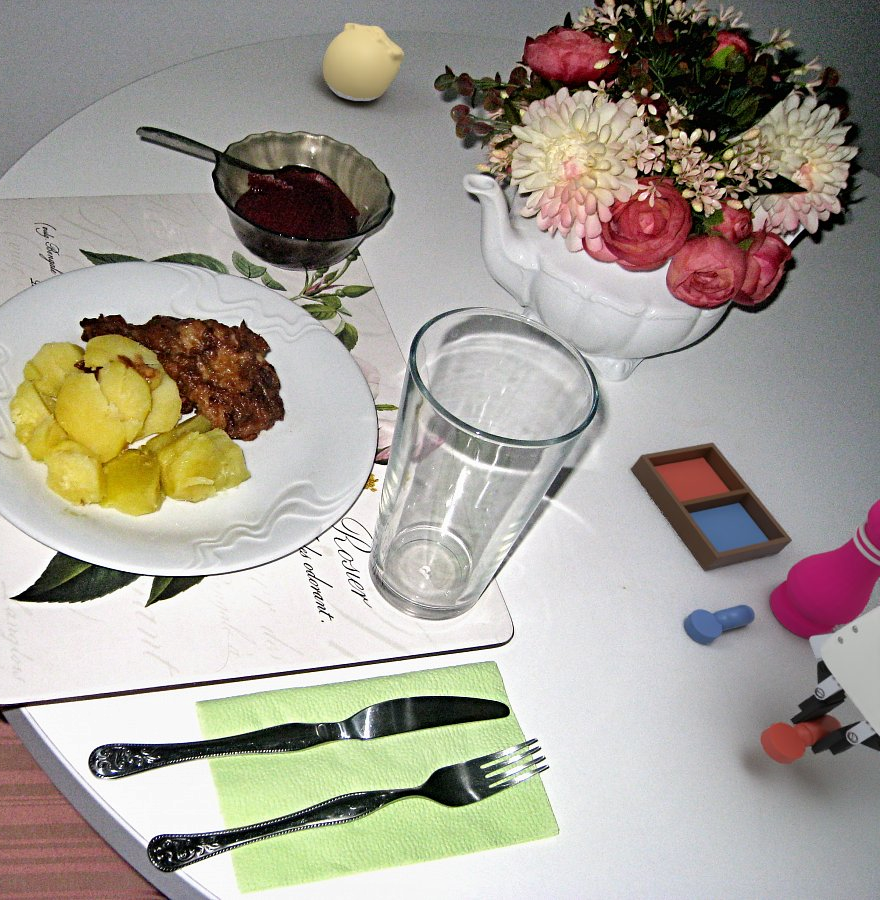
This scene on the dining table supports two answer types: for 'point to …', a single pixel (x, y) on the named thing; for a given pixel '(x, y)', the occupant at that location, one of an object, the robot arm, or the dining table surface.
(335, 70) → the sculpture
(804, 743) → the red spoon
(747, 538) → the blue pad
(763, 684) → the dining table surface
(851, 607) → the pink bowling pin
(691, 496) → the red pad
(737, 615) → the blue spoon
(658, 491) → the divided wooden tray
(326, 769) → the dining table surface
